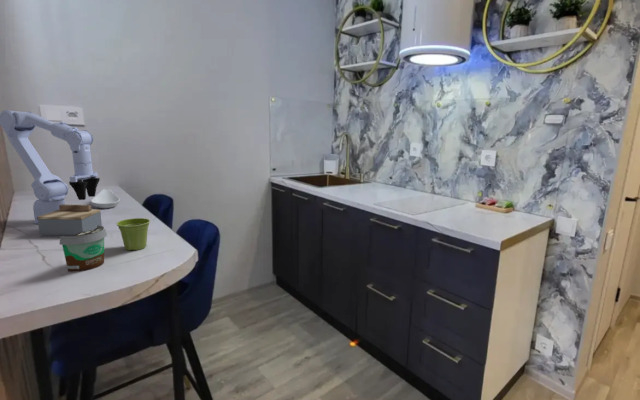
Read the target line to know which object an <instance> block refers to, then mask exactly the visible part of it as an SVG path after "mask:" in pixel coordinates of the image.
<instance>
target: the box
mask: <svg viewBox="0 0 640 400" xmlns="http://www.w3.org/2000/svg"><path fill="white" fill-rule="evenodd" d="M101 212H102V211H100V212H98V213H96V214H94V215H91V216H89V217H87V218H84V219H82V220H69V219H38V223H37V224H38V231H39V236H40V237H61V236H63V237H71V236H74V235H76V234H78V233H80V232H84V231H90V230H93V229H96V228H97V225H100V226H103V224H102V214H101Z"/></svg>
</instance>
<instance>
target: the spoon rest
mask: <svg viewBox="0 0 640 400" xmlns="http://www.w3.org/2000/svg"><path fill="white" fill-rule="evenodd" d="M120 201H121V198H120V197H119V196H118V195H117V194H116V193H115V192H113V190H112V189H111V188H107V189H106V188H102V189H101V190H100V191H99V192H98V193H97V194H95V196H94V197H92V199H90V204H92V205H93V206H94V207H95V208H97V209H98V208H99V209H101V208H102V209H105V210H106V209H113V208H115V207H116V206H118V204H119V203H120Z"/></svg>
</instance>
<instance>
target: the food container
mask: <svg viewBox="0 0 640 400" xmlns="http://www.w3.org/2000/svg"><path fill="white" fill-rule="evenodd" d="M107 235H108V234H107V230H106V229H105V227H104V226H103V225H102V226H100V225H97V228H96V229H93V230H90V231H84V232H80V233H78V234H76V235H74V236H60V239H59V245H62V251H63V253H64V259H65V263H66V268H67V271H68V272H85V271H90V270H93V269H94V270H95V269H96V268H99V267H102V265H104V264H105V238H107Z"/></svg>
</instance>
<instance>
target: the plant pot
mask: <svg viewBox="0 0 640 400" xmlns="http://www.w3.org/2000/svg"><path fill="white" fill-rule="evenodd" d="M150 222H151V219H149V218H146V217H145V218H144V217H135V218H134V217H133V218H127V219H126V218H125V219H122V220H119V221H117V223H116V226H117V227H118V229H119V232H120V234H121V237H122V238H121V239H122V241H123V242H122V243H123V246H124V249H125V250H126V251H139V250H142V249H145V248H146V247H147V243H148V242H147V241H148V231H149V229H148V228H149V225H150Z"/></svg>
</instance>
